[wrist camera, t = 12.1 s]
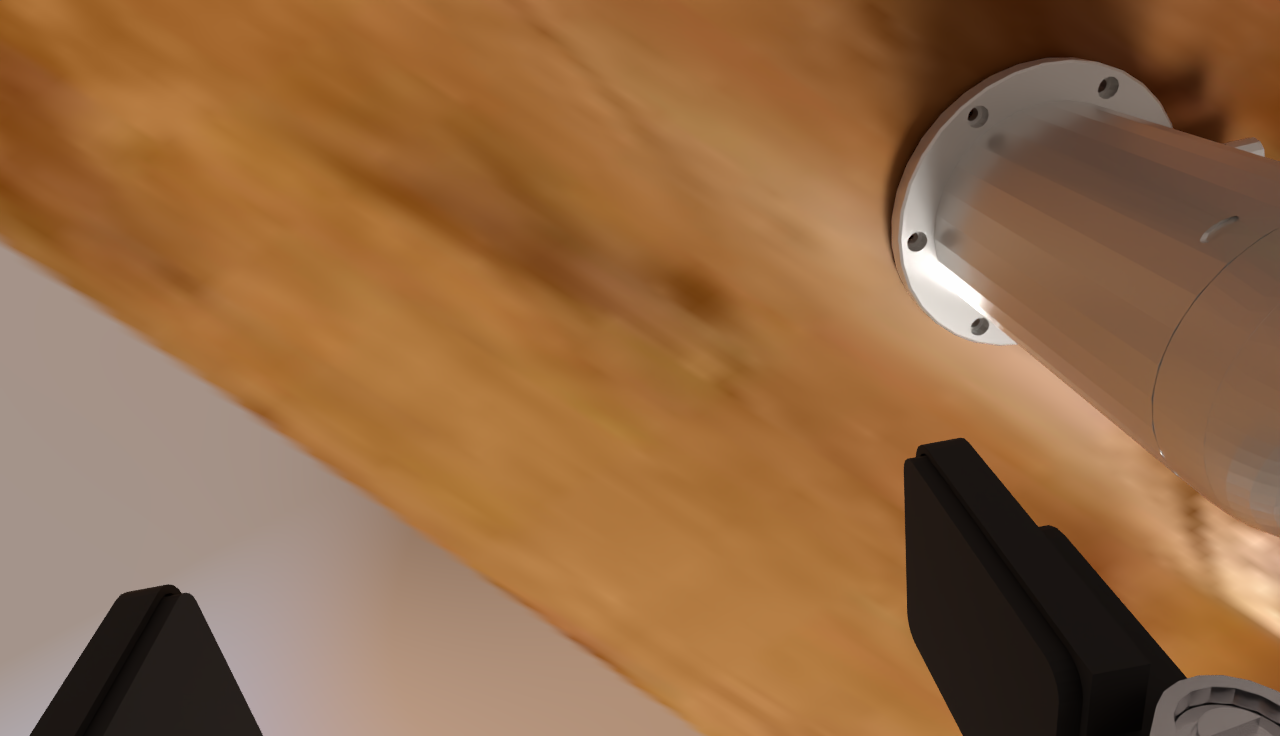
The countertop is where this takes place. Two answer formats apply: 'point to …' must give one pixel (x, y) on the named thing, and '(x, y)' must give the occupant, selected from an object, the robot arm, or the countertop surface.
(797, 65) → the countertop surface
